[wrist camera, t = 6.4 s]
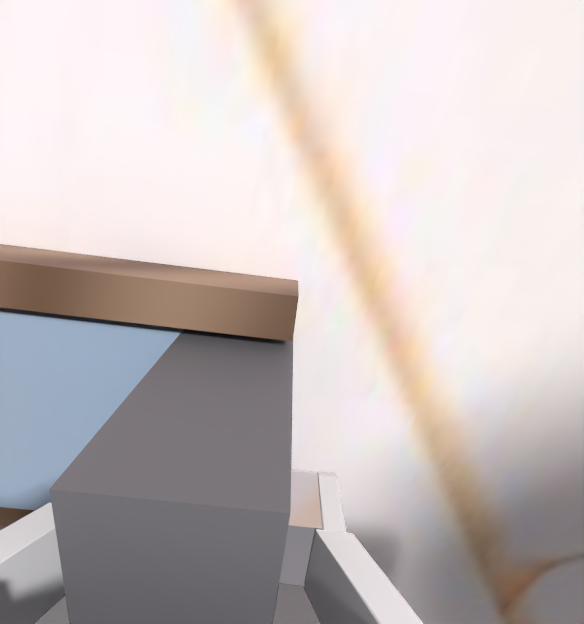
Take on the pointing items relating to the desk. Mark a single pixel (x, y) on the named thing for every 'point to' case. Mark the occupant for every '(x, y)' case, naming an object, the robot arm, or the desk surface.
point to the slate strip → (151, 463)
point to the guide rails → (144, 298)
